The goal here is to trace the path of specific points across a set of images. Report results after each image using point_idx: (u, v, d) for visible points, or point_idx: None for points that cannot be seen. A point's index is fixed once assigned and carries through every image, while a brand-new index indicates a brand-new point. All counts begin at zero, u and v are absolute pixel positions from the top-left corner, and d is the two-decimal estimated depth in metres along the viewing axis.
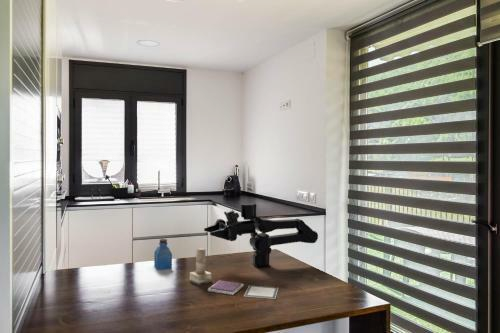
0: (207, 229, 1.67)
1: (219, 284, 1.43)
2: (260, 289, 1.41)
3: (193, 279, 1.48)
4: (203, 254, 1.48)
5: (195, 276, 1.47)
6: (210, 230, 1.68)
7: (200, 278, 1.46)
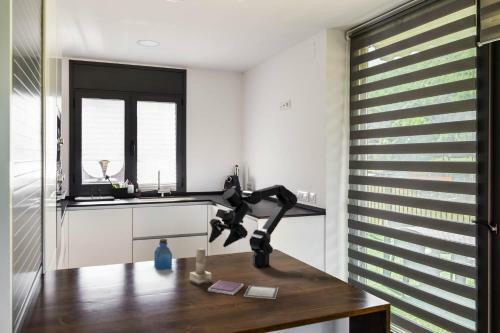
0: (211, 239, 1.58)
1: (219, 284, 1.43)
2: (260, 289, 1.41)
3: (193, 279, 1.48)
4: (203, 254, 1.48)
5: (195, 276, 1.47)
6: (214, 238, 1.59)
7: (200, 278, 1.46)
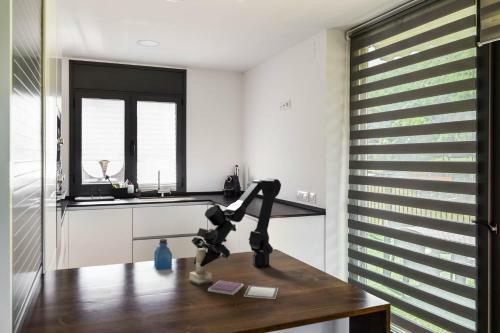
0: None
1: (219, 284, 1.43)
2: (260, 289, 1.41)
3: (193, 279, 1.48)
4: (203, 254, 1.48)
5: (195, 276, 1.47)
6: None
7: (200, 278, 1.46)
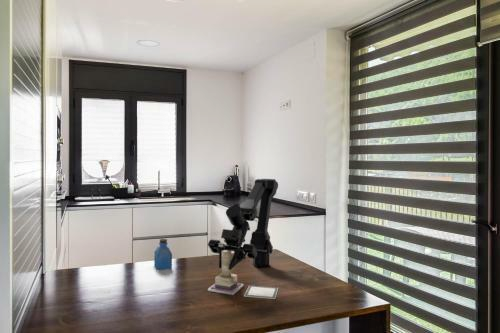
0: (221, 264, 1.42)
1: None
2: (260, 289, 1.41)
3: (221, 283, 1.40)
4: (230, 256, 1.41)
5: (224, 280, 1.39)
6: None
7: (231, 282, 1.39)
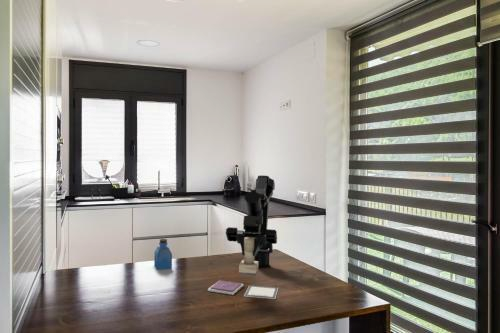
0: None
1: (219, 284, 1.43)
2: (260, 289, 1.41)
3: (246, 271, 1.37)
4: None
5: (249, 267, 1.36)
6: None
7: (256, 268, 1.37)
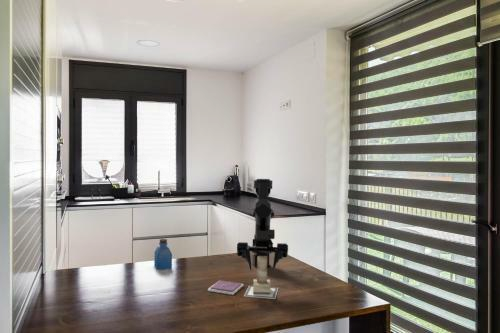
0: None
1: (219, 284, 1.43)
2: None
3: (260, 290, 1.36)
4: None
5: (264, 286, 1.36)
6: None
7: None
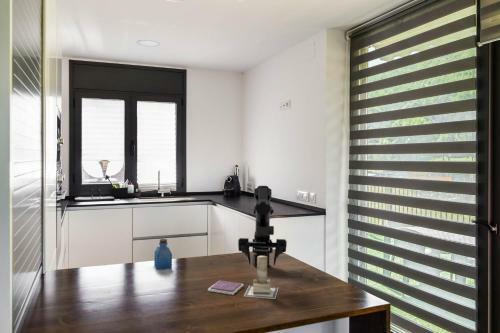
0: None
1: (219, 284, 1.43)
2: None
3: (260, 290, 1.36)
4: None
5: (264, 286, 1.36)
6: None
7: None
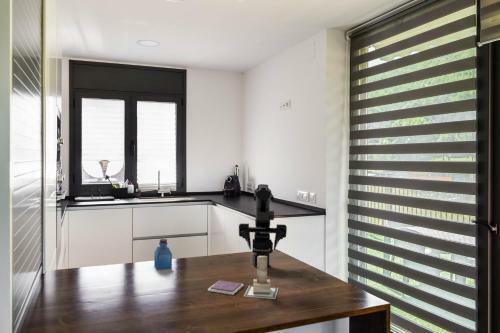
0: (250, 245, 1.48)
1: (219, 284, 1.43)
2: None
3: (260, 290, 1.36)
4: None
5: (264, 286, 1.36)
6: None
7: None
